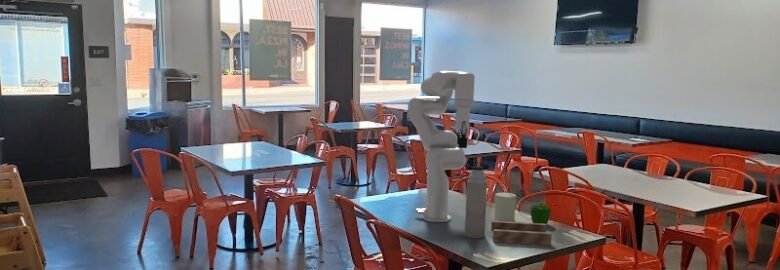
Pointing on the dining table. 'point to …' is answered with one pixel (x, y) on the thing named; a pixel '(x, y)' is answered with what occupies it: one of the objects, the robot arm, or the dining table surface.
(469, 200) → the thermos bottle
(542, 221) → the bell pepper
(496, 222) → the bottle rest
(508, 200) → the can
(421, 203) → the dining table surface
